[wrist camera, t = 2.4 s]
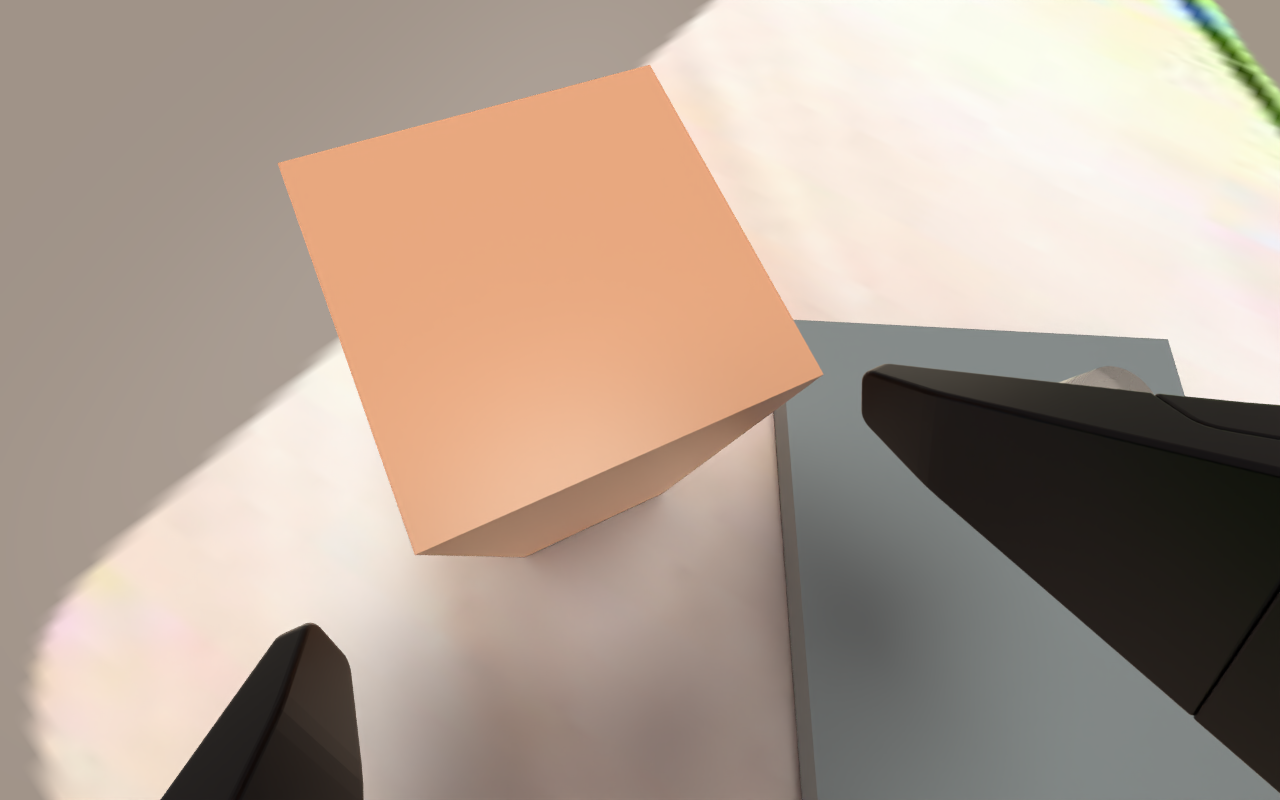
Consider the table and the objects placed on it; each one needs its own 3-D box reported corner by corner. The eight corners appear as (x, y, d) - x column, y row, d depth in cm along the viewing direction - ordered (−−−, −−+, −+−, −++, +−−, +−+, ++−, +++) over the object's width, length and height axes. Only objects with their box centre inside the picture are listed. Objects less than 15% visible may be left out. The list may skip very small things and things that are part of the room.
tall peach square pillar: (662, 493, 18) (823, 374, 6) (524, 557, 17) (413, 554, 5) (603, 366, 19) (649, 65, 8) (470, 419, 18) (278, 163, 6)
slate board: (1263, 797, 18) (1310, 814, 17) (803, 823, 16) (821, 844, 15) (1137, 350, 22) (1167, 339, 21) (767, 332, 21) (779, 319, 19)
